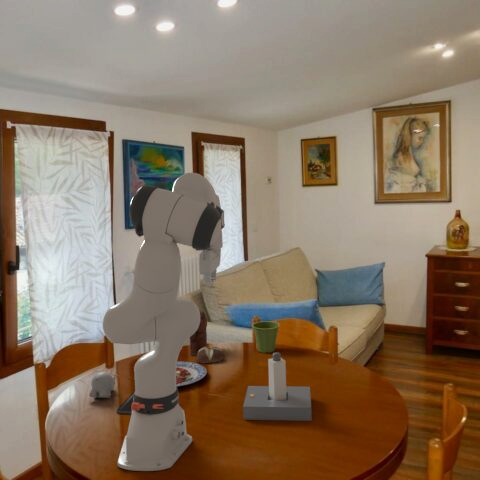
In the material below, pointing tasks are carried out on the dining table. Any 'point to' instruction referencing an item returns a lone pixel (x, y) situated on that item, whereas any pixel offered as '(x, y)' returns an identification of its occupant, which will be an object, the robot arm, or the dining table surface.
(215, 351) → the bread
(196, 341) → the wooden figurine
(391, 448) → the dining table surface
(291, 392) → the block
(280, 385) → the white square bottle
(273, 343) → the plant pot
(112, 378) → the chubby cartoon animal
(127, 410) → the phone
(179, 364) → the ceramic plate
